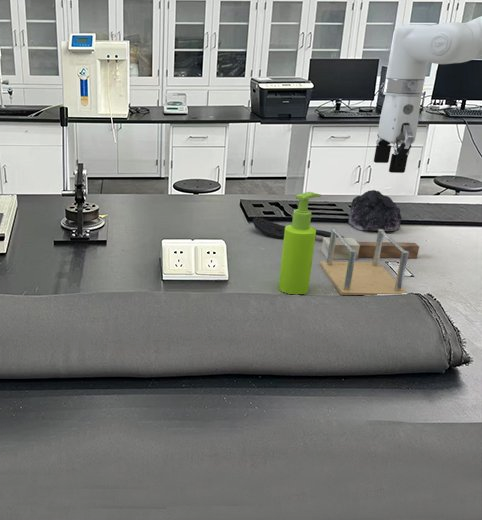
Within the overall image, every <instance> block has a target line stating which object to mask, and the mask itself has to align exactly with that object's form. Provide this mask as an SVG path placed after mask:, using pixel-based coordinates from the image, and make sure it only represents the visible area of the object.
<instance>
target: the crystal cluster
mask: <svg viewBox="0 0 482 520" xmlns="http://www.w3.org/2000/svg"><path fill="white" fill-rule="evenodd" d="M348 218H349V219H348V224H350V225H351V226H352V227H353V228H355V229H357V230H358V231H367V232H368V231H370V232H371V231H375V232H378V230H379V229H383V230H384V232H393V231H394V232H395V231H397V230H399V229H400V228H401V223H402V219H403V218H402V215H401V208H400V207H399V206H398V205H397V203H396V202H394V201H393V199H392V198H391V197H390V196H388V195H384V194H382V192H381V191H379V190H375V189H371V190H368V191H366V192H365V191H364V192H363V194H361V195H357V196H355V197H354V198H353V199H352V201H351V205H350V209H349V217H348Z"/></svg>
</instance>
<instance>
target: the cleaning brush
mask: <svg viewBox="0 0 482 520" xmlns="http://www.w3.org/2000/svg"><path fill="white" fill-rule="evenodd" d="M343 239H344V240H345V241H346V242H347V243H348V244H349V246H350V247H351V248H352V249H353V250H356V257H355V260H359V259H358V258H373V257H374V252H375V246H376V241H357V240H356V239H355V238H354V237H345V238H343ZM395 242H396V241H395ZM396 243H397V244H398V245H399V246H400V247H402V248H403V249H404V250H405V251H408V252H409V254H408V259H418V255H419V250H420V245H418V244H417V243H416V242H396ZM329 244H330V237H323V236H322V244H321V250H320V251H321V253H322V254H323V256H324V257H325V258H326V259H327V257H328V251H329ZM349 253H350V250H349V249H348V248H347V247H346V246H345V245H344V243H343V242H342V241H341V240H340V239H339V238H336V243H335V249H334V256H333V260H348V259H349ZM401 254H402V252H401V251H400V250H399V249H398V248H397V247H396V246H395V245H394V244H392V243H391V242H390V241H382V247H381V252H380V257H379V259H381V258H383V259H384V258H385V259H401Z"/></svg>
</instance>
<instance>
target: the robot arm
mask: <svg viewBox="0 0 482 520" xmlns="http://www.w3.org/2000/svg"><path fill="white" fill-rule="evenodd" d="M481 57H482V15H481V16H478V17H476V18H474V19H471V20H469V21H467V22H443V23H436V24H421V23H418V24H416V23H415V24H413V23H412V24H401V25H398V26H397V27H395V29H394V30H393V34H392V40H391V44H390V52H389V56H388V62H387V68H386V74H385V81H384V86H383V91H382V95H385V96H384V99H383V104H382V107H381V113H380V117H379V122H378V129H377V135H376V136H377V139H376V145H375V151H374V156H373V157H374V158H373V162H374V163H376V164H388V163H389V168H388V172H389V173H390V174H393V173H394V174H398V173H399V174H403V173H405V172H406V167H407V162H408V157H409V154H410V153H411V151H410V150H411V149H412V144H414V143H415V141H416V138H417V132H418V125H419V119H420V118H419V117H420V108H421V97H422V95H423V90H424V86H425V80H426V75H427V70H428V65H429V64H430V63H431V64H436V65H451V64H461V63H467V62H469V61H472V60H475V59H478V58H481ZM391 144H392V145H391ZM392 147H393V153H391V150H392ZM390 156H391V157H390ZM389 161H390V162H389Z"/></svg>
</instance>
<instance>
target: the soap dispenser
mask: <svg viewBox="0 0 482 520" xmlns="http://www.w3.org/2000/svg"><path fill="white" fill-rule="evenodd" d="M321 196H322V194H320V193H316V192H313V191H306V192H305V191H304V192H302V193H299V194H297V195H295V199H296V200H299V201H298V207H297V208H296V209H294V210H293V211H292V222H291V224H290V225H289V224H286V225H285V226H286V227H285V232H284V239H283V242H282V250H281V259H280V268H279V269H280V270H279V277H278V278H279V279H278V286H277V287H278V290H279V291H280V292H281V291H282V293H283V292H286V293H288V294H287V295H289V294H304V295H306V294H308V292H309V287H310V279H311V273H312V272H311V271H312V265H313V257H314V251H315V242H316V236H317V235H316V230H317V229H316V228H315V227H313V226H312V225H311V223H312V222H311V220H312V213H313V212H312V211H311V210H310V209H308V207H309V201H310V199H313V198H321ZM286 293H285V294H286Z"/></svg>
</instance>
